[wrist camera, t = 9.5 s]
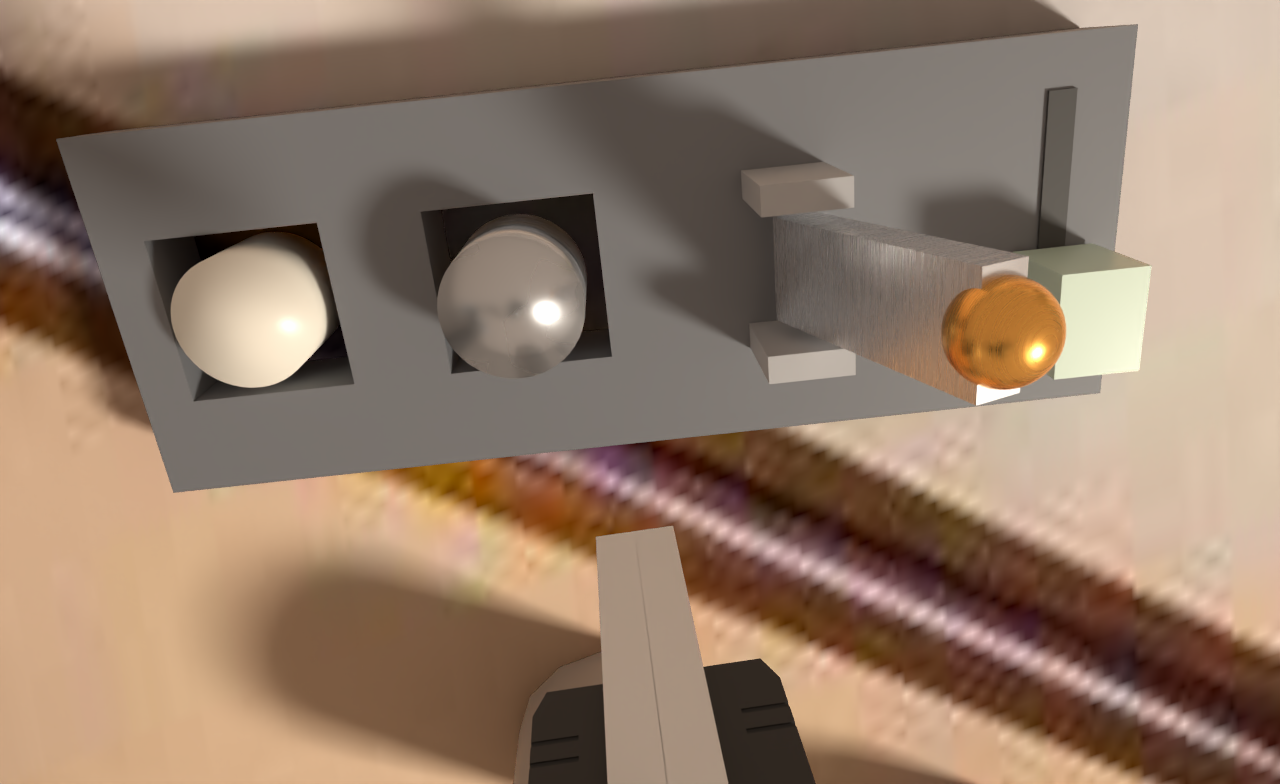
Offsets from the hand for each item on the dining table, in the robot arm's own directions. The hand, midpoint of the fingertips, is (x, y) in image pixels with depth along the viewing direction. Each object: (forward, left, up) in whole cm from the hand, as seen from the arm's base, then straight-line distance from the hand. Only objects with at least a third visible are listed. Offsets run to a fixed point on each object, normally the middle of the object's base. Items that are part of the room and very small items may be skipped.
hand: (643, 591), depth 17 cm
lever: (+5, +4, -10) cm, 12 cm away
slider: (+13, +2, -11) cm, 17 cm away
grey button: (-3, +4, -12) cm, 13 cm away
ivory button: (-11, +4, -14) cm, 18 cm away
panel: (0, +4, -14) cm, 14 cm away
